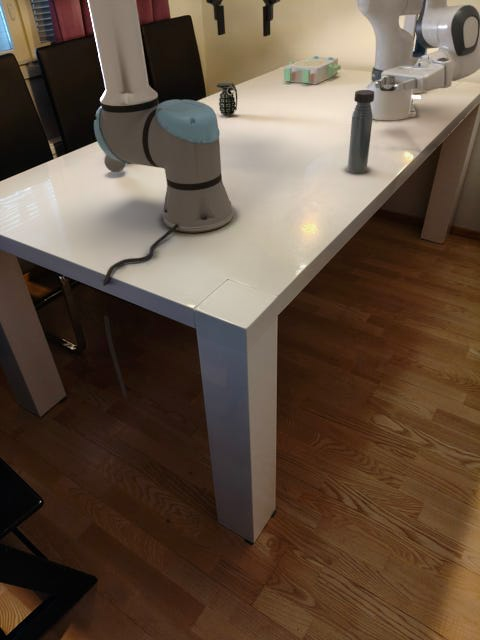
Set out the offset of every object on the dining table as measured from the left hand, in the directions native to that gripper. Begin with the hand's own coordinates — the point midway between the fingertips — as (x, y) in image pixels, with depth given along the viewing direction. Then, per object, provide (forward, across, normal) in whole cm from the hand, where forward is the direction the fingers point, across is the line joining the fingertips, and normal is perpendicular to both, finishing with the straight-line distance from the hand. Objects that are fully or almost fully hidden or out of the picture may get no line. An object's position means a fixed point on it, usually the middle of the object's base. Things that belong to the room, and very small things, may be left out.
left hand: (243, 35), depth 129 cm
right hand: (+13, -36, -11) cm, 40 cm away
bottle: (+28, -37, +10) cm, 47 cm away
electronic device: (+28, -30, -71) cm, 82 cm away
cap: (+10, -37, +10) cm, 39 cm away
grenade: (+28, +19, -22) cm, 41 cm away
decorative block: (+28, +13, -83) cm, 88 cm away
